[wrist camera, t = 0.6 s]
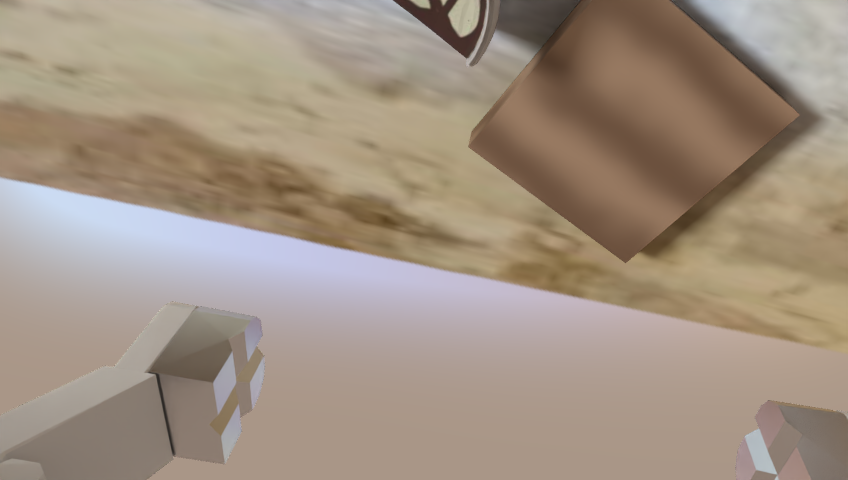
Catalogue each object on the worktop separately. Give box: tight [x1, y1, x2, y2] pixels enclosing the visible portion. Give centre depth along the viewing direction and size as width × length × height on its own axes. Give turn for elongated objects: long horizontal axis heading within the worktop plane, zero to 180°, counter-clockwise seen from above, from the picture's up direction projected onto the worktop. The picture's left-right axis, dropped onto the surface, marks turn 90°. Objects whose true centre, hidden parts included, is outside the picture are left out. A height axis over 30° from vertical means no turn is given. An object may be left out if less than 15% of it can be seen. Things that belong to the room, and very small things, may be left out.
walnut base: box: [468, 0, 800, 263], centre depth 46 cm, size 16×16×3 cm
